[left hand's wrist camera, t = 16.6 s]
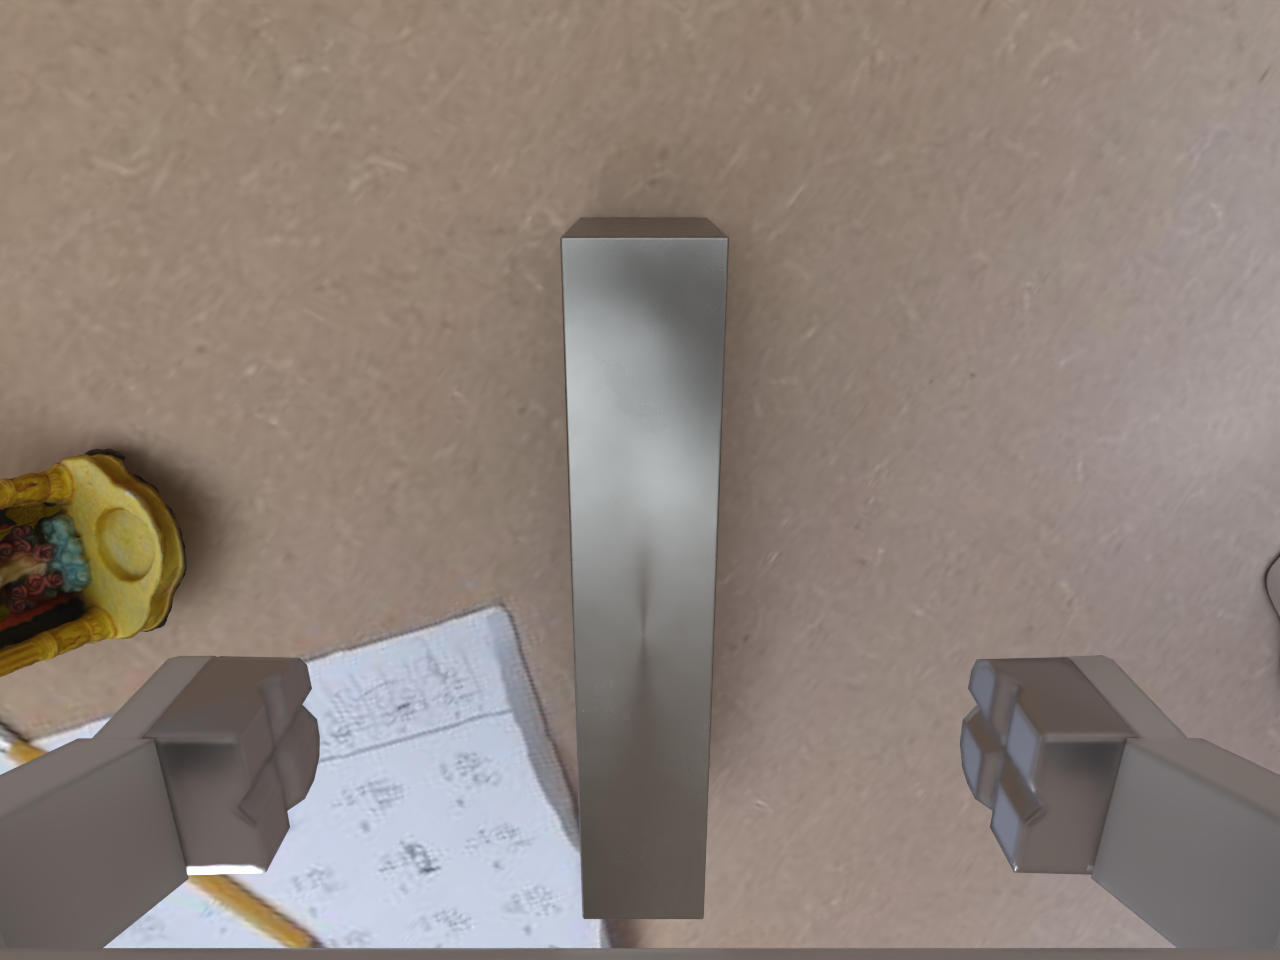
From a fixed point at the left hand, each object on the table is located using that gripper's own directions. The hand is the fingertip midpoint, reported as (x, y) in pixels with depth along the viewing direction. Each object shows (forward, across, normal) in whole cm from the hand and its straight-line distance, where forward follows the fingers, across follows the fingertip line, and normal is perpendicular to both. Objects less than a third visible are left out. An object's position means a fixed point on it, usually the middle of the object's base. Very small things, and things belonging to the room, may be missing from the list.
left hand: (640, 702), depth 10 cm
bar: (+26, 0, -10) cm, 28 cm away
